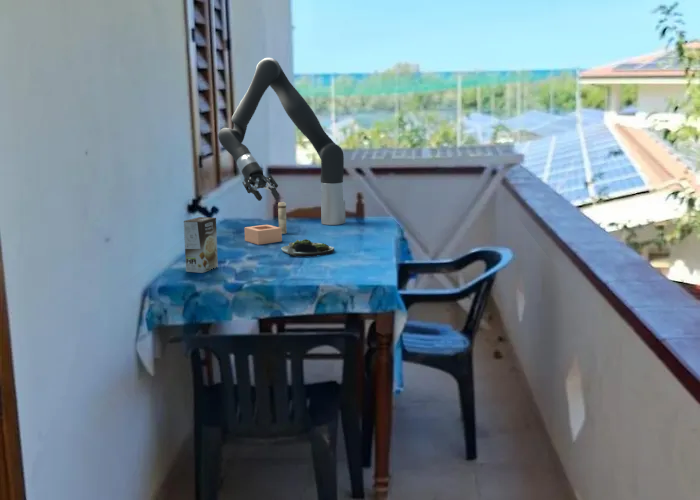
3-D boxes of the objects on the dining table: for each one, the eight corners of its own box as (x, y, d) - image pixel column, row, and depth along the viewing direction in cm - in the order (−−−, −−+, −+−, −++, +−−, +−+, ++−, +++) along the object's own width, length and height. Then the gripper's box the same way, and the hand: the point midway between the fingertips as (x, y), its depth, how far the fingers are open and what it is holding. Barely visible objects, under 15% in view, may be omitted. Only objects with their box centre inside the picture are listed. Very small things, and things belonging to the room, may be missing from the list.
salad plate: (269, 250, 279) (269, 237, 278) (314, 244, 287) (314, 232, 286) (293, 260, 262) (292, 246, 261) (340, 254, 271) (340, 240, 270)
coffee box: (203, 273, 243) (200, 221, 240) (185, 271, 245) (182, 220, 242) (218, 267, 251) (216, 217, 248) (201, 265, 253) (198, 216, 250)
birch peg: (284, 232, 311) (283, 202, 309) (288, 233, 308) (287, 202, 306) (277, 233, 309) (276, 202, 307) (281, 234, 307) (280, 203, 304)
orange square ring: (268, 237, 300) (267, 224, 299) (281, 241, 292) (281, 228, 292) (244, 240, 295) (244, 227, 294) (258, 244, 287) (257, 231, 286)
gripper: (239, 162, 309) (259, 194, 304) (267, 160, 319) (287, 190, 314) (231, 175, 314) (251, 206, 309) (259, 172, 324) (278, 202, 319)
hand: (269, 198), depth 311 cm, fingers open, 8 cm apart
